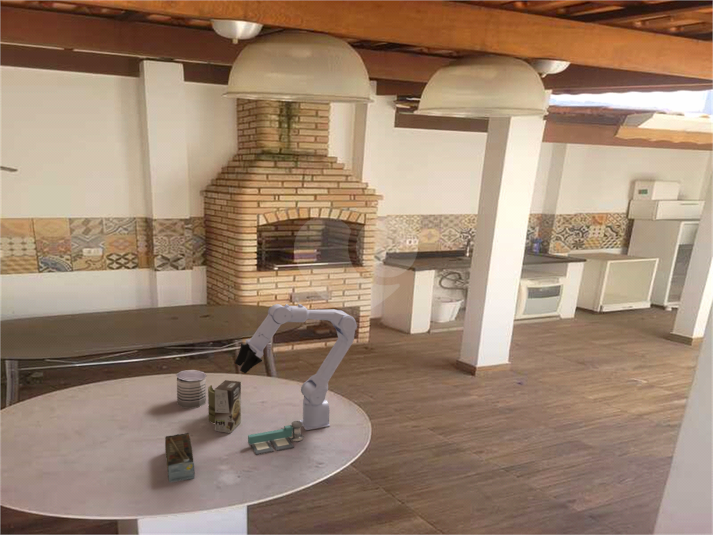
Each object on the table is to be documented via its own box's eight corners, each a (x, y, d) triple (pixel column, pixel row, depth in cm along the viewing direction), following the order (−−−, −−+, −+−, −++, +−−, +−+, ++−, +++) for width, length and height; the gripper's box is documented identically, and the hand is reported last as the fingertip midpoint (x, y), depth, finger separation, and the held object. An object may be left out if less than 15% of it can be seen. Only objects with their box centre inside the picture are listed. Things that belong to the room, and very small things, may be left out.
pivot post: (300, 434, 199) (301, 422, 198) (305, 440, 194) (305, 428, 194) (287, 436, 197) (287, 424, 196) (291, 442, 192) (292, 431, 191)
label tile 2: (284, 434, 198) (284, 433, 198) (293, 447, 189) (293, 446, 189) (268, 437, 195) (268, 436, 195) (276, 451, 186) (276, 449, 186)
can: (184, 395, 228) (184, 367, 226) (211, 398, 226) (210, 370, 224) (171, 407, 217) (171, 378, 215) (199, 409, 215) (199, 380, 213)
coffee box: (231, 433, 197) (230, 390, 194) (214, 431, 198) (213, 388, 195) (241, 422, 206) (241, 381, 203) (225, 420, 207) (225, 379, 204)
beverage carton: (167, 484, 166) (166, 463, 165) (165, 452, 184) (164, 434, 182) (195, 479, 169) (194, 459, 168) (190, 449, 186) (189, 430, 185)
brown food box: (244, 389, 206) (215, 396, 199) (244, 419, 208) (216, 427, 202) (231, 379, 215) (203, 385, 208) (231, 408, 217) (203, 415, 210)
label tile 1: (265, 438, 195) (265, 436, 195) (273, 451, 186) (273, 450, 186) (248, 441, 192) (248, 439, 192) (256, 455, 183) (256, 453, 183)
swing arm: (299, 431, 198) (299, 420, 197) (303, 435, 194) (303, 424, 194) (247, 440, 190) (247, 429, 189) (250, 445, 187) (250, 433, 186)
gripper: (248, 323, 196) (225, 355, 195) (260, 335, 183) (235, 369, 182) (264, 333, 199) (241, 365, 198) (276, 345, 187) (252, 379, 185)
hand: (239, 368), depth 190 cm, fingers open, 7 cm apart
